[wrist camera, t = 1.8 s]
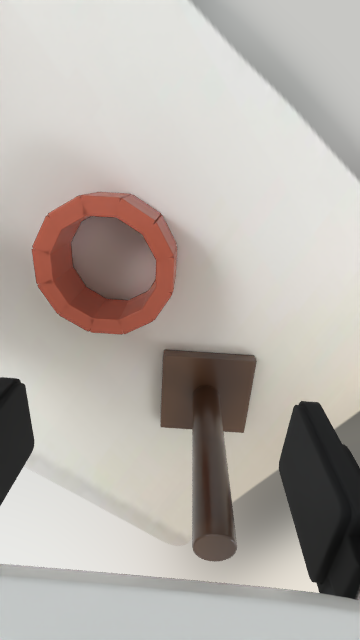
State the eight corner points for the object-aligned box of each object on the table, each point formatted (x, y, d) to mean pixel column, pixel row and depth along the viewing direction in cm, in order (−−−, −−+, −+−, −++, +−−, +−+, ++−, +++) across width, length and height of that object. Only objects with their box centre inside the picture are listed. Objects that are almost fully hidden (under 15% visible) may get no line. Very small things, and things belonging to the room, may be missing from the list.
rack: (161, 420, 32) (140, 585, 19) (164, 349, 28) (140, 492, 16) (242, 425, 32) (275, 595, 19) (254, 355, 28) (305, 504, 15)
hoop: (62, 308, 27) (42, 329, 23) (50, 188, 23) (23, 191, 20) (173, 316, 27) (170, 337, 23) (179, 196, 23) (177, 200, 19)
